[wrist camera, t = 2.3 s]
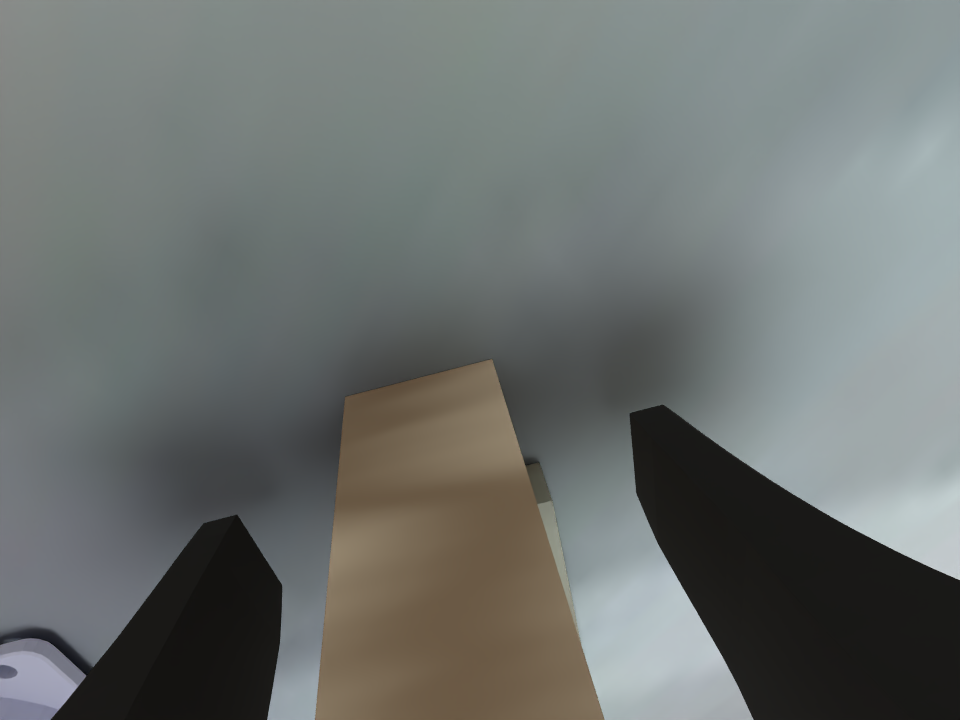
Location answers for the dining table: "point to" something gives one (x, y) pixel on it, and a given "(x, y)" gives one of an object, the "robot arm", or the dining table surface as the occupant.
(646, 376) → the dining table surface
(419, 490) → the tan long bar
